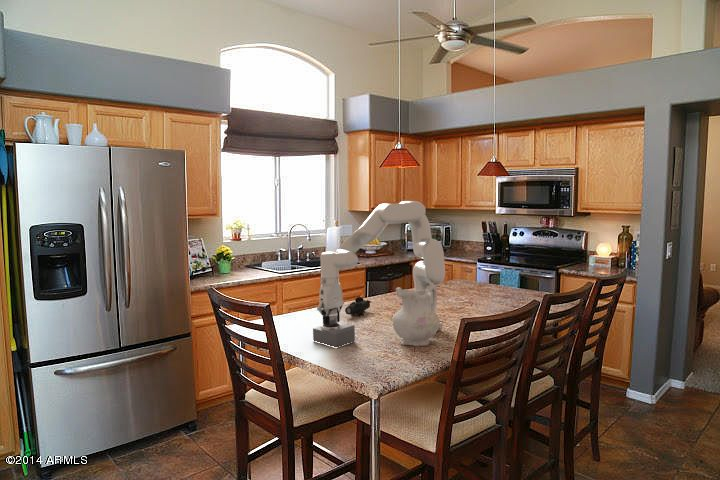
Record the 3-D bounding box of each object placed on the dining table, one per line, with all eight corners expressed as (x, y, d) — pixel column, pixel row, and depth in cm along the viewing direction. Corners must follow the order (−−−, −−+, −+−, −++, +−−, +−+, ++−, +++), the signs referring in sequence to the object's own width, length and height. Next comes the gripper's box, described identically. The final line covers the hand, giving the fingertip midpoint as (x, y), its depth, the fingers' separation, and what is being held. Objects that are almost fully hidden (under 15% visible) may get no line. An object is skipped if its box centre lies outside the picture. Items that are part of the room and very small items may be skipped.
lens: (340, 326, 210) (340, 308, 210) (331, 329, 206) (330, 310, 206) (331, 324, 214) (331, 306, 213) (322, 327, 210) (321, 308, 209)
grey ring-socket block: (354, 342, 209) (354, 323, 208) (336, 348, 201) (335, 329, 200) (331, 336, 219) (331, 318, 218) (313, 342, 211) (312, 323, 210)
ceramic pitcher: (414, 334, 222) (409, 279, 221) (452, 338, 210) (448, 280, 209) (385, 347, 206) (380, 288, 204) (425, 352, 193) (420, 289, 192)
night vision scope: (348, 323, 247) (336, 309, 251) (368, 316, 262) (356, 302, 265) (357, 312, 244) (344, 298, 247) (376, 306, 258) (364, 292, 262)
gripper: (321, 285, 199) (322, 329, 201) (350, 278, 212) (351, 320, 214) (308, 283, 204) (310, 325, 206) (338, 277, 217) (339, 317, 219)
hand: (331, 322), depth 210 cm, fingers closed on lens, 5 cm apart
